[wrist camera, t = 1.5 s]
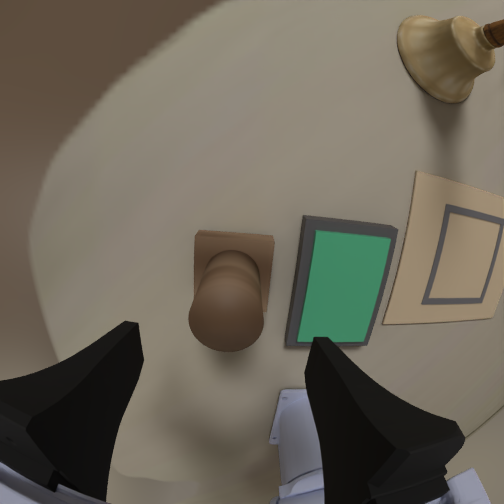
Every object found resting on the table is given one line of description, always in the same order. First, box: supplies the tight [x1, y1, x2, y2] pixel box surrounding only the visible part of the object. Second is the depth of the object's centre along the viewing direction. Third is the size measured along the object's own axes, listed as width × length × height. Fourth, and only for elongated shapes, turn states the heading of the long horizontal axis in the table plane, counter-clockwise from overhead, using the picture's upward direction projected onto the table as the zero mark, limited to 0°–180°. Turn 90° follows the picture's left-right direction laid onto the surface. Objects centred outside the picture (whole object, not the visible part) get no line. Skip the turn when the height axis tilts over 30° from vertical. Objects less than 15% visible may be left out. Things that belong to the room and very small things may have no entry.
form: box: [382, 171, 504, 324], centre depth 21 cm, size 13×16×1 cm
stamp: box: [188, 230, 275, 352], centre depth 17 cm, size 5×5×8 cm
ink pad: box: [285, 215, 398, 346], centre depth 21 cm, size 10×7×2 cm
